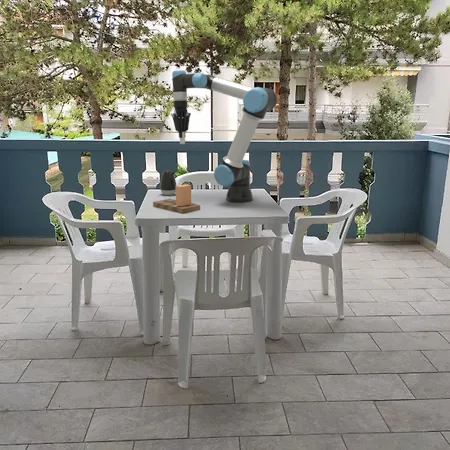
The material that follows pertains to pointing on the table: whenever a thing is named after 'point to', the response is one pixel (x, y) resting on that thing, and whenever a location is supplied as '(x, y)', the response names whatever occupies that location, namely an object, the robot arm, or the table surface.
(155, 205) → the fader board
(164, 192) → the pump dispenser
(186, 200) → the fader knob
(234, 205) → the table surface
